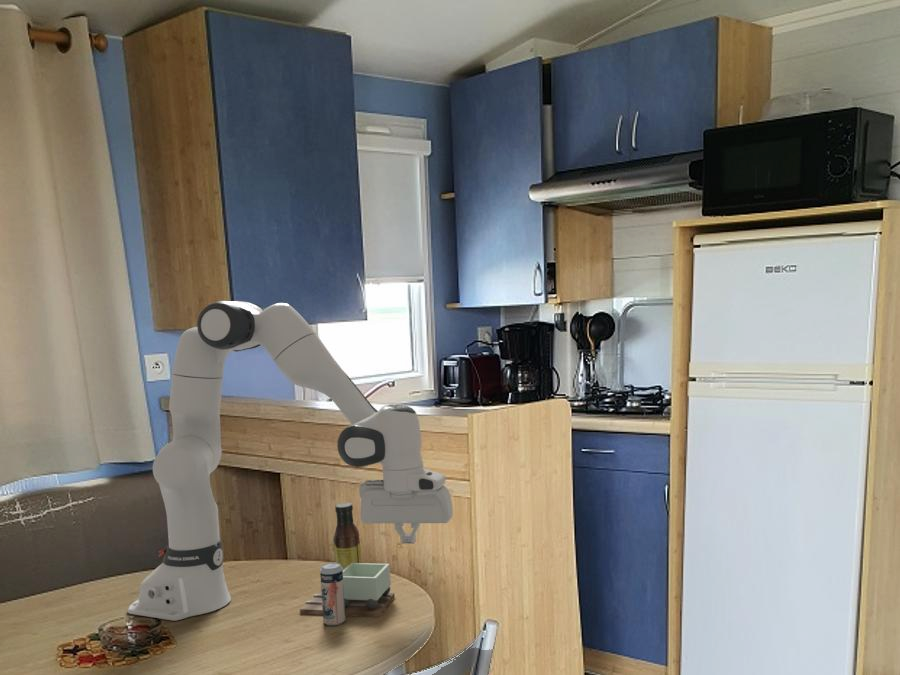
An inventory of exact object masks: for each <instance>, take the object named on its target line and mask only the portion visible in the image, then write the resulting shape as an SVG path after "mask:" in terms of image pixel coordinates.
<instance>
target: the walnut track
mask: <svg viewBox="0 0 900 675" xmlns="http://www.w3.org/2000/svg"><path fill="white" fill-rule="evenodd" d="M394 599H395V593H394V592H389V593H388V594H387V595H385V596H384V595H382V596H381V597H380V598H379V599H378V600H377V601H378V605H377V607H376V608H375V609H374V610H369V609H368V608H367V607H366V601H367V600H351V599H349V600H350V604H349V606H348V607H347V608H346V609H345V617H367V618H369V617H370V618H379V617H380V616H381V615H382V614H383V613H384V611H385V610H386V608H387V607H388V606H389V605H390V604H391V603H392V601H393V600H394ZM299 614H301V615H318V616H319V615H322V616H323V608H322V591H321V590H319V592H317V593H314V594H313V597H312V598H310V599H309V600H307V601H305V604H304V605H303V606H301V607H300V608H299Z"/></svg>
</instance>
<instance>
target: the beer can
mask: <svg viewBox="0 0 900 675" xmlns="http://www.w3.org/2000/svg"><path fill="white" fill-rule="evenodd" d="M319 574H320V585H321V586H320V588H321V590H320V591H322V608H323V615H322V623H323V624H325V625H327V626H330V627H331V626H332V627H334V626H339V625H341V624H342V623H343V622H345V621H346V619H347V618H346V617H347V616H345V604H344V587H343V568H342V567H341V565H340V563H335V562H328V563H327V562H326V563H324V564H322V565H321V567H320V570H319Z"/></svg>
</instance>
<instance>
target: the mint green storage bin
mask: <svg viewBox="0 0 900 675" xmlns="http://www.w3.org/2000/svg"><path fill="white" fill-rule="evenodd" d="M390 566H391V565H390V563H373V562H372V563H367V562H362V563H351V564H349V565H348V566H347V567H346V568H345V569H344V570H343V587H344V604H345V609H346V608H347V607H348V606H349V604H350V600H349V599H351V600H367V601H366V607H367V608H368V609H369V610H374V609H375V608H376V607H377V605H378V601H377V600H378V599H379V598H380V597H381V596H382V595H384V596H385V595H387V594H388V593H391V585H392V584H391V583H392V582H391V581H392V580H391V567H390Z"/></svg>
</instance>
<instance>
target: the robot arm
mask: <svg viewBox="0 0 900 675" xmlns="http://www.w3.org/2000/svg"><path fill="white" fill-rule="evenodd" d="M196 322H197V323H196V326H193V327H191V328H188V329H186V330H185V331H183V333H182V334H181V335H180V337H179V340H178V343H177V346H176V350H175V354H174V360H173V367H172V375H171V383H170V384H171V385H170V395H169V403H168V409H169V412H170V416H171V422H172V440H171V441H170V442H168V443H167V444H165V445H163V447H161V449H160V450H159V452H158V453H157V454H156V456H155V458H154V460H153V463H152V474H153V477H154V480H155V481H156V483H157V484H158V485H159V489H160V492H161V497H162V500H163V504H164V508H165V513H166V520H167V521H166V524H167V536H168V545H167V546H165V547H164V548H163V549H162V550H160V551H158V553H159V555H158V557H162V556H163V555H164V556H163V560H162V563H160V565H158V566H157V567H156V568H155V569H154V570H153V571H152V572H150V573H149V574H148V575H147V576H146V577H145V578H144V579H143V580H142V582H141V583H140V587H139V591H138V598H137V599H136V600H135V601H134V602H132V603H131V604H129V607H128V610H127V611H128V614H130V615H136V616H142V617H149V618H153V619H155V618H157V619H159V620H160V619H162V620H168V621H179V620H183V619H187V618H190V617H195V616H199V615H204V614H208V613H212V612H214V611H216V610H219V609H221V608H223V607H225V606H227V605H228V604H229V603H231V600H232V597H231V594H230V592H229V588H228V586H227V582H226V578H225V573H224V568H223V564H224V563H223V562H224V561H223V560H224V559H223V558H224V552H223V542H222V541H223V540H222V538H220V521H219V506H218V504H217V503H216V501H215V498H214V497H215V496H214V494H213V490H212V485H211V480H210V479H211V478H210V477H211V476H210V475H211V473H213V472H214V471H215V470H216V469H217V467H218V466H219V464H220V461H221V458H222V453H223V452H222V445H221V442H222V440H221V439H222V437H221V436H222V434H221V431H222V430H221V417H220V416H221V400H222V390H223V382H224V381H223V380H224V371H225V370H224V369H225V362H226V359H227V357H228V355H229V354H230V353H232V352H233V351H234V352H235V353H236V352H241V351H245V350H251V349H256V348H258V347H260V346H261V347H263V348H264V349H265V351H266V352H267V353H268V354H269V356H270V357H271V359H272V360H273V362H274V363H275V365H276V366H277V368H278V369H279V370H280V371H281V373H282V374H283V375H284V376H285V377H286V378H287V379H288V380H289V381H290V382H291V383H292V384H293V385H295V386H297V387H301V388H306V389H310V390H314V391H317V392H318V393H321V394H324V395H325V396H326V397H328V398H330V400H331V401H332V402H333V403H334V405H336V407H337V408H338V410H339V411H340V412H341V413H342V414H343V415H344V416H345V418H346V419H347V421H348V422H349V423H350V425H349V426H347V427H346V428H344V429H343V430H342V431H341V432H340V433H339V435H338V438H337V442H336V443H337V445H336V446H337V452H338V454H339V456H340V459H341V460H342V461H343V462H344V463H345V464H346V465H348V466H351V467H354V468H363V467H368V466H370V465H375V464H380V465H381V466H382V479H376V480H370V479H368V480H364V482H362V483H361V484H360V485H359V487H358V488H359V490H358V491H359V497H360V499H361V500H360V511H359V512H360V520H361V522H363V524H368V525H369V524H375V525H376V524H394V525H393V526H394V530H395V531H396V532H397V534H398V535H399V537H400V544H415V543H416V540H417V537H416V534H417V532H418V531H419V528H420V525H421V524H447V523H448V522H450V521H451V519H452V518H453V515H454V508H453V502H452V496H451V492H450V491H449V489H448V487H447V486H445V483H446V475H445V474H443V473H440V472H437V471H433V470H430V469H427V468H424V461H423V459H422V455H421V454H422V453H421V448H422V435H421V434H422V433H421V427H420V426H421V425H420V422H419V417H418V414H417V411H416V410H414V409H413V407H410V406H407V405H403V404H386V405H383V406H382V407H381V408H380V409H379V410H377V409H376V408H375V407H374V406H373V404H372V403H370V401H369V400H368V399H367V398H366V396H365V395H364V394H363V393H362V391H361V390H360V389H359V387H358V386H357V385H356V383H354V381H353V380H352V379H351V378H350V377H349V375H348V374H347V373H346V372H345V371H344V370H343V369H342V367H341V366H340V365H339V363H338V362H337V361H336V360H335V359H334V357H333V356H332V355H331V353H330V351H329V350H328V348H327V347H326V346H325V344H324V343H323V342H322V340H321V339H320V337H319V336H318V334H317V333H316V332H315V331H314V329H313V328H312V327H311V324H309V322H307V320H305V318H304V317H303V316H302V315H301V314H300V313H299V312H298V311H297V310H296V309H295V308H294V307H292V305H290V304H289V303H285V302H278V303H273V304H271V305H270V306H267V307H266V308H264V307H262V306H261V305H259V304H258V303H257V304H256V303H254V302H253V303H252V302H247V301H243V300H234V301H233V300H232V301H231V300H230V301H228V300H219V301H216V302H212V303H210V304H208V305H207V306H205V307H204V308H203V309H202V310H201V312H200V314H198V318H197V321H196ZM404 524H410V528H411V529H412V531H411V533H406V532H405V530H404V529H403V526H404Z"/></svg>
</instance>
